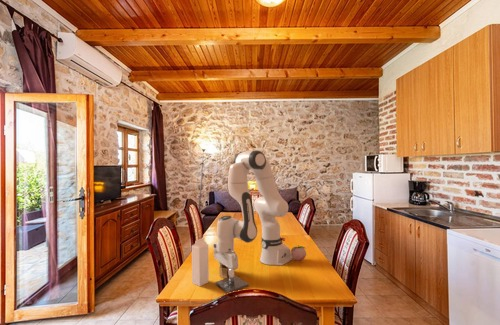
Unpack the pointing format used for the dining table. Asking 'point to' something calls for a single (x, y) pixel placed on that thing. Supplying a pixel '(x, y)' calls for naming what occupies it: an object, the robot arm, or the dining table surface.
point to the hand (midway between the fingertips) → (225, 272)
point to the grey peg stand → (231, 282)
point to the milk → (200, 263)
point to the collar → (224, 271)
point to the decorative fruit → (298, 253)
